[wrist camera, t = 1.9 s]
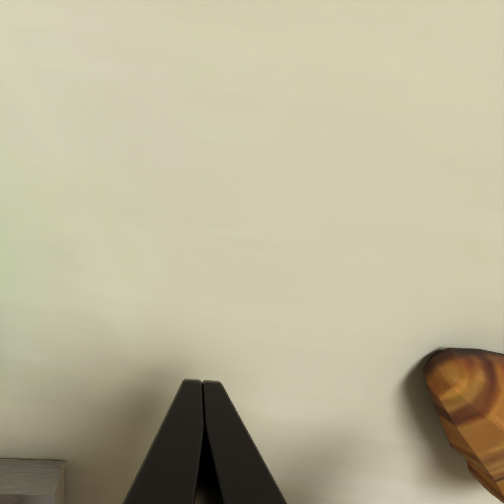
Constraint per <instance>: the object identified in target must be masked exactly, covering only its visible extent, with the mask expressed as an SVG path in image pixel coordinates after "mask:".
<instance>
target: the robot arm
mask: <svg viewBox="0 0 504 504" xmlns="http://www.w3.org/2000/svg"><path fill="white" fill-rule="evenodd" d="M123 504H287V502H286V500H285V498H284V497H283V495H282V493H281V491H280V489H279V487H278V486H277V484H276V482H275V480H274V478H273V476H272V475H271V473H270V471H269V469H268V467H267V465H266V464H265V462H264V460H263V458H262V456H261V454H260V453H259V451H258V449H257V447H256V445H255V444H254V442H253V440H252V438H251V436H250V434H249V433H248V431H247V429H246V427H245V425H244V423H243V422H242V420H241V418H240V416H239V414H238V412H237V411H236V409H235V407H234V405H233V403H232V401H231V400H230V398H229V396H228V394H227V392H226V390H225V389H224V387H223V385H222V383H221V382H219V381H210V380H204V381H203V382H201V381H200V380H197V379H184V380H183V381H182V383H181V385H180V387H179V389H178V391H177V393H176V395H175V397H174V399H173V401H172V403H171V406H170V408H169V410H168V412H167V414H166V416H165V418H164V420H163V422H162V424H161V426H160V428H159V430H158V432H157V434H156V436H155V438H154V440H153V443H152V445H151V447H150V449H149V451H148V453H147V455H146V457H145V459H144V461H143V463H142V465H141V467H140V469H139V471H138V473H137V475H136V477H135V479H134V482H133V484H132V486H131V488H130V490H129V492H128V494H127V496H126V498H125V500H124V502H123Z"/></svg>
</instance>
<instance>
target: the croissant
mask: <svg viewBox="0 0 504 504" xmlns="http://www.w3.org/2000/svg"><path fill="white" fill-rule="evenodd" d="M423 371H424V375H425V379H426V382H427V385H428V388H429V391H430V394H431V397H432V399H433V402H434V405H435V408H436V410H437V413H438V416H439V418H440V421H441V423H442V426H443V428H444V431H445V433H446V436H447V438H448V441H449V443H450V446H451V447H452V448H454V449H455V450H456V451H458V452H459V453H460V454H461V455H463V456H464V457H465V458H466V461H467V464H468V468H469V472H470V473H471V474H472V475H473V476H474V477H475V478H476V479H477V480H478V481H479V482H480V483H481V484H482V485H483V486H484V487H485V488H486V489H487V490H488V491H489V492H490V493H491V494H492V495H494V496H495V497H496V498H497V499H499V500H500V501H501V502H503V503H504V354H501V353H496V352H491V351H486V350H481V349H462V348H448V349H446V350H444V351H442V352H440V353H438V354H436V355H434V356H432V358H431V359H430V361H429V362H428V363H427V365H426V366H425V368H424V369H423Z"/></svg>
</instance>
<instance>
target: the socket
mask: <svg viewBox="0 0 504 504" xmlns="http://www.w3.org/2000/svg"><path fill="white" fill-rule="evenodd" d="M0 504H64V461H54V460H26V459H0Z"/></svg>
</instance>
